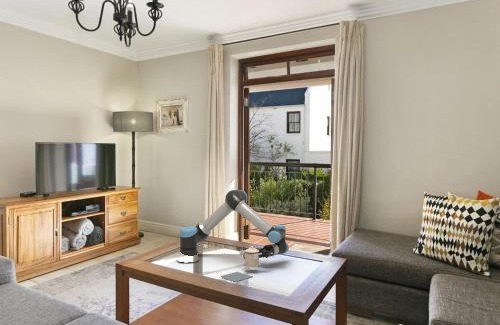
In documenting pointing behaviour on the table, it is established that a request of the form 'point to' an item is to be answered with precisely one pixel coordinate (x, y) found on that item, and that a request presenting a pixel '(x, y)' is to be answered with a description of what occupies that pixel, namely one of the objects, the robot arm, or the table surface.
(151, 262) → the table surface
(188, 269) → the table surface
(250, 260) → the teacup with lid
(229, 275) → the mat
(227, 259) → the table surface
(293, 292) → the table surface
